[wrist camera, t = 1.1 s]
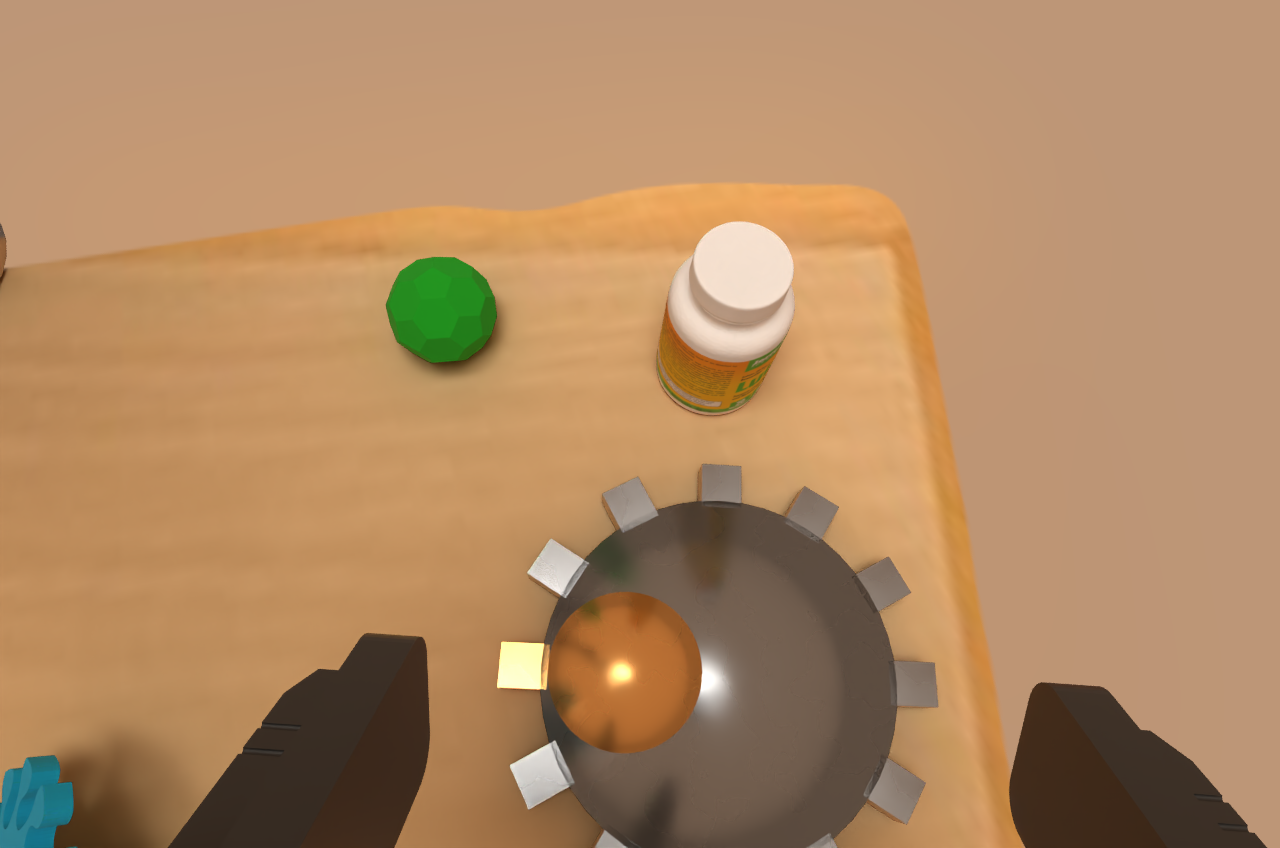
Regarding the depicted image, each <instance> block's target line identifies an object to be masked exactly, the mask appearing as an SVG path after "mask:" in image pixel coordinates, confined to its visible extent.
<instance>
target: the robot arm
mask: <svg viewBox="0 0 1280 848" xmlns="http://www.w3.org/2000/svg"><path fill="white" fill-rule="evenodd" d="M5 260H6V238H5V235H4V232H3V229H2V226H1V224H0V277H1V275H2V273H3V269H4V265H5ZM429 741H430V725H429V698H428V670H427V649H426V644H425V641H424V639H423V638H422V637H416V636H401V635H387V634H373V633H366V634H364V635H363V636H362V637H361V638H360V640H359V641H358V643H357V644H356V645H355V647H354V648H353V650H352V651H351V653H350V654H349V656H348V657H347V659H346V660H345V662H344V663H343V665H342V666H341V668H340V669H339V670H326V669H318V670H317V671H315V672H314V673H312V674H311V675H309V676H308V677H306V678H305V679H304V680H302V681H301V682H299V683H298V684H296V685H295V686H293V687H292V688H291V689H289V690H288V691H286V692H285V693H284V694H283V695H282V697H281V698H280V699H279V700H278V702H277V703H276V704H275V706H274V707H273V708H272V710H271V711H270V712H269V714H268V715H267V716H266V718H265V719H264V720H263V722H262V726H261V729H260V728H257V730H256V731H255V732H254V734H253V735H252V736H251V738H250V739H249V740H248V742H247V743H246V744H245V746H244V747H243V752H242V754H238V755H237V756H236V758H235V759H234V760H233V762H232V763H231V764H230V766H229V767H228V768H227V770H226V771H225V772H224V774H223V775H222V776H221V778H220V779H219V780H218V782H217V783H216V784H215V786H214V787H213V788H212V790H211V791H210V792H209V794H208V795H207V796H206V798H205V799H204V800H203V802H202V803H201V804H200V806H199V807H198V808H197V810H196V811H195V812H194V814H193V815H192V816H191V818H190V819H189V820H188V822H187V823H186V824H185V826H184V827H183V828H182V830H181V831H180V832H179V834H178V835H177V836H176V838H175V839H174V840H173V842H172V843H171V844H170V846H169V847H168V848H394V847H395V845H396V842H397V840H398V837H399V835H400V833H401V830H402V828H403V825H404V823H405V821H406V818H407V816H408V814H409V811H410V809H411V806H412V804H413V802H414V799H415V797H416V794H417V792H418V790H419V787H420V785H421V782H422V779H423V776H424V772H425V768H426V763H427V758H428V751H429ZM1009 796H1010V806H1011V812H1012V817H1013V821H1014V824H1015V827H1016V829H1017V832H1018V834H1019V836H1020V838H1021V840H1022V842H1023V844H1024V846H1025V848H1267V847H1266V846H1265V845H1264V844H1263V843H1262V841H1261V840H1260V839H1259V838H1258V837H1257V835H1256V834H1255V833H1249V831H1248V829H1247V824H1246V823H1245V822H1244V820H1243V819H1242V818H1241V817H1240V816H1239V815H1238V814H1237V812H1236V811H1235V810H1234V809H1233V808H1232V807H1231V805H1230V804H1229V803H1224V802H1223V800H1222V795H1221V794H1220V793H1219V792H1218V790H1217V789H1216V788H1215V787H1214V786H1213V785H1212V784H1211V782H1210V781H1209V780H1208V779H1207V778H1206V777H1205V775H1204V774H1203V773H1202V772H1201V771H1200V770H1199V768H1197V766H1196V765H1195V764H1194V763H1193V762H1192V761H1191V760H1190V759H1188V758H1187V757H1186V756H1184V755H1183V754H1181V753H1180V752H1179V751H1177V750H1176V749H1175V748H1173V747H1172V746H1170V745H1169V744H1168V743H1166V742H1165V741H1164V740H1162V739H1161V738H1159V737H1158V736H1157V735H1155V734H1154V733H1152V732H1151V731H1147V730H1140V729H1139V727H1138V726H1137V725H1136V724H1135V723H1134V722H1133V720H1132V719H1131V718H1130V716H1129V715H1128V714H1127V713H1126V712H1125V710H1123V708H1122V707H1121V705H1120V704H1119V703H1118V702H1117V701H1116V699H1115V698H1114V697H1113V696H1112V695H1111V693H1110V692H1109V691H1108V690H1106V689H1104V688H1103V687H1100V686H1085V685H1072V684H1057V683H1042V682H1041V683H1038V684H1037V685H1036V686H1035V687H1034V688H1033V690H1032V692H1031V694H1030V698H1029V701H1028V706H1027V710H1026V714H1025V718H1024V722H1023V727H1022V731H1021V735H1020V739H1019V744H1018V748H1017V752H1016V756H1015V760H1014V765H1013V769H1012V773H1011V778H1010V786H1009Z"/></svg>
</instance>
